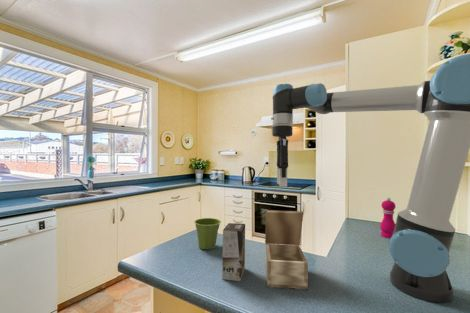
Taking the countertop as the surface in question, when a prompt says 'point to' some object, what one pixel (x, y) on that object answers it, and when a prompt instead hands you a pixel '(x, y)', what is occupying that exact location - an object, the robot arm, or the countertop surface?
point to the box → (286, 266)
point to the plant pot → (207, 232)
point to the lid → (283, 227)
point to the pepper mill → (387, 219)
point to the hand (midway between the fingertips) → (281, 185)
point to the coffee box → (233, 251)
